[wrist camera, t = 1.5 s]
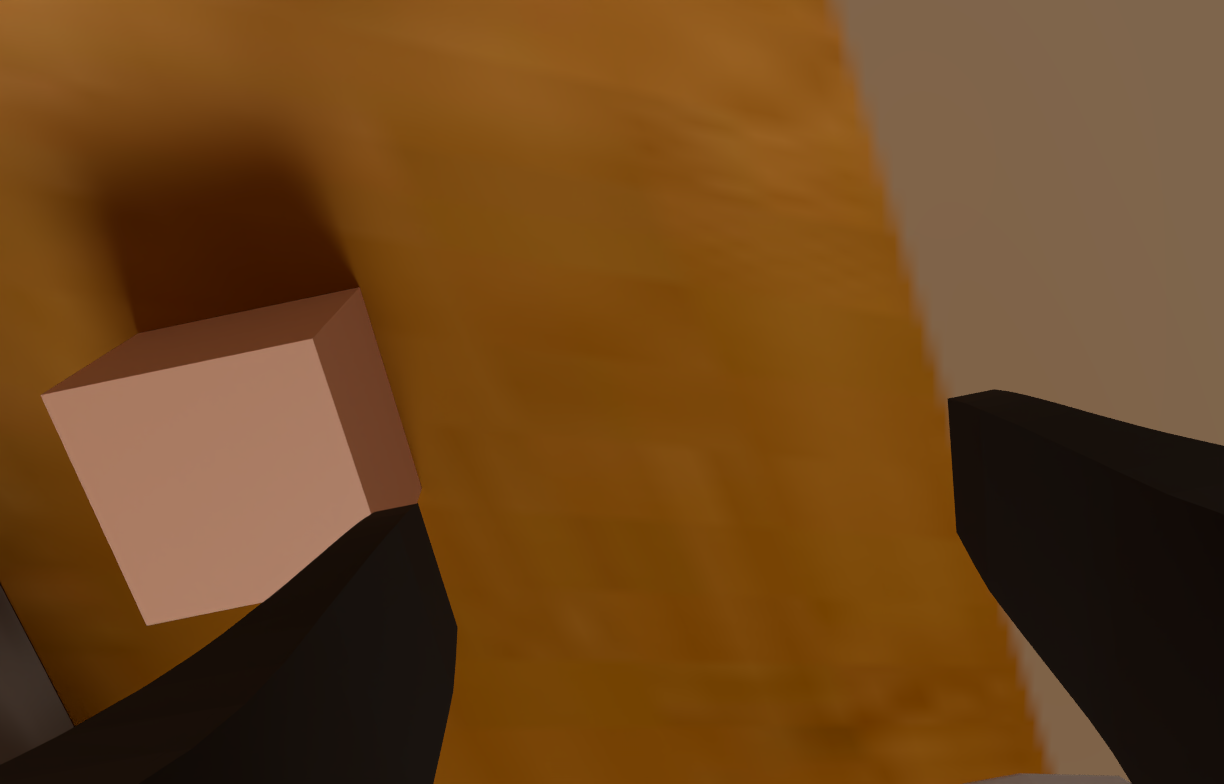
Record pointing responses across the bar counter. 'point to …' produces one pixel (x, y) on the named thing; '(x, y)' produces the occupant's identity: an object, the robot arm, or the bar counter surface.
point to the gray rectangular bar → (24, 692)
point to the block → (235, 449)
